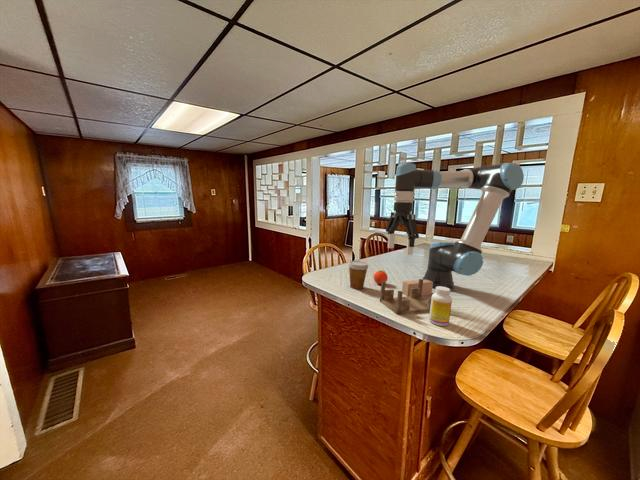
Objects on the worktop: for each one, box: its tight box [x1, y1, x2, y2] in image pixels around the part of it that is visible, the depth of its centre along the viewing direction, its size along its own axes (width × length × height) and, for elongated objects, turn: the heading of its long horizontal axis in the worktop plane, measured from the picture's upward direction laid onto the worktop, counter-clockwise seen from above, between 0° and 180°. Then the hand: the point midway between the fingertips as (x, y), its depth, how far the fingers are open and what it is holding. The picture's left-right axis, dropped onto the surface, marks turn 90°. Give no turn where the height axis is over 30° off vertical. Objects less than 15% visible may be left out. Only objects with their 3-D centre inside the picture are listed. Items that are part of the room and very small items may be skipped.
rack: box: [379, 278, 432, 316], centre depth 107 cm, size 20×13×9 cm, turn 107°
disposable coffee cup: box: [347, 260, 369, 290], centre depth 127 cm, size 10×10×12 cm
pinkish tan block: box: [401, 279, 433, 297], centre depth 123 cm, size 14×4×6 cm, turn 110°
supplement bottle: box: [428, 286, 453, 327], centre depth 93 cm, size 7×7×13 cm
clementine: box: [373, 270, 388, 285], centre depth 134 cm, size 8×7×7 cm
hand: (399, 251), depth 114 cm, fingers open, 13 cm apart
